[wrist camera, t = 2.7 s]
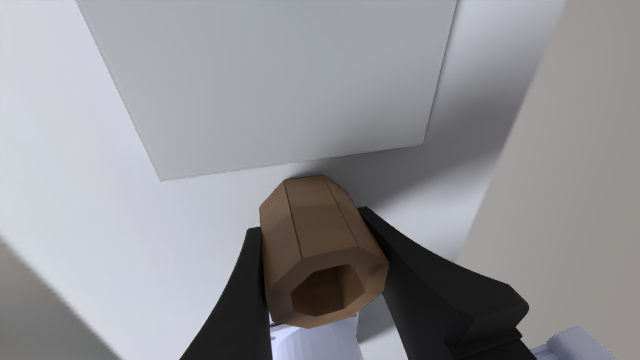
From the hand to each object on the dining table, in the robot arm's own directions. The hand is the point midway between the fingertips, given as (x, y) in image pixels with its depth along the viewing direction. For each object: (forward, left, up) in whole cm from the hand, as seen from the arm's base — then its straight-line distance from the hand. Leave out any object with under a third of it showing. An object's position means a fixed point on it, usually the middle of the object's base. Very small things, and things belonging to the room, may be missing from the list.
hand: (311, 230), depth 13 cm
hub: (0, 0, -1) cm, 1 cm away
